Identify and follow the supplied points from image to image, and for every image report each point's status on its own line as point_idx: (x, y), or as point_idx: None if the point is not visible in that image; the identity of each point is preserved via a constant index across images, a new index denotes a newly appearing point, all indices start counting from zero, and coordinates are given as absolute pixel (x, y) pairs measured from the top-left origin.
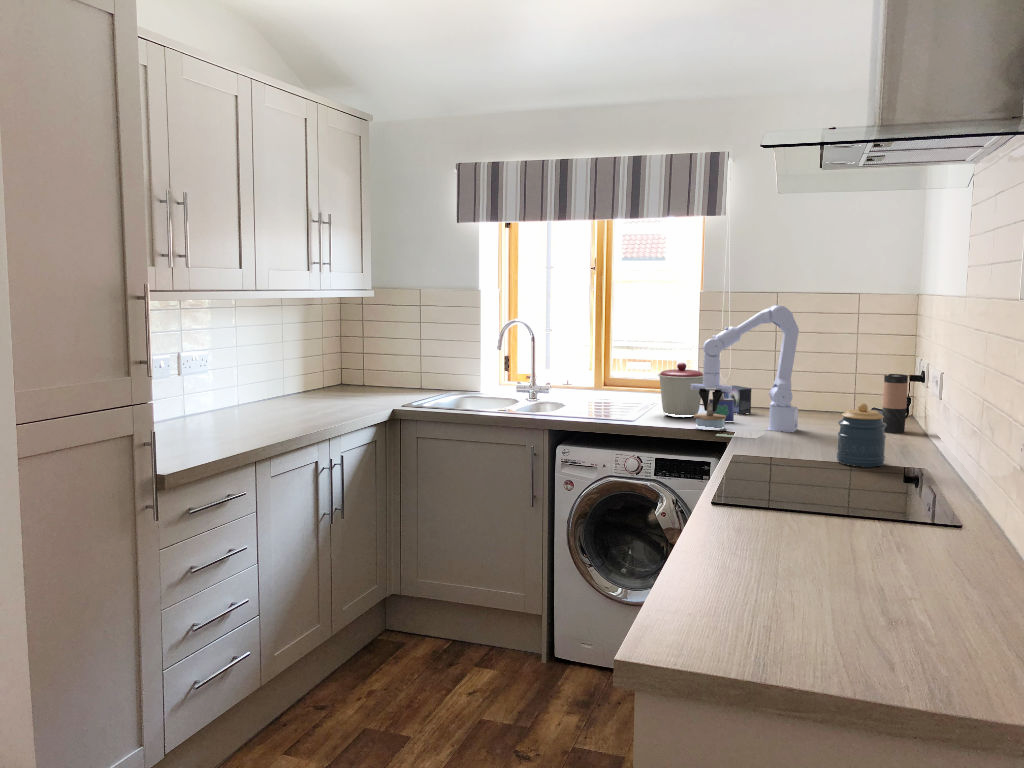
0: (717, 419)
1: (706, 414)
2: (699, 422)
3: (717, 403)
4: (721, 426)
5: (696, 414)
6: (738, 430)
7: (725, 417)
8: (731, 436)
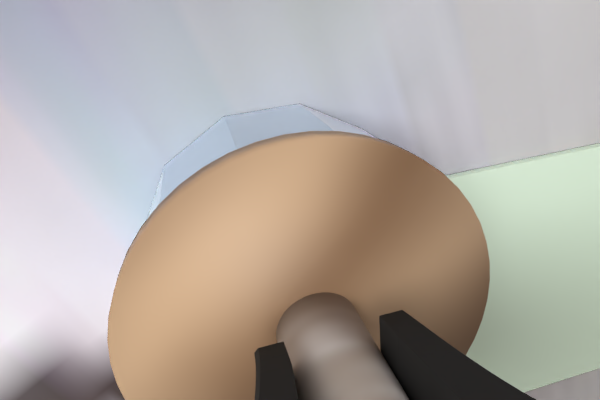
0: None
1: (234, 282)
2: None
3: (482, 387)
4: None
5: (136, 376)
6: (505, 128)
7: (483, 262)
8: (515, 386)
